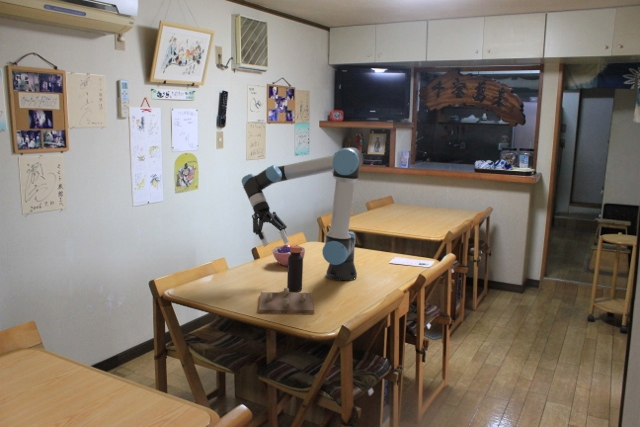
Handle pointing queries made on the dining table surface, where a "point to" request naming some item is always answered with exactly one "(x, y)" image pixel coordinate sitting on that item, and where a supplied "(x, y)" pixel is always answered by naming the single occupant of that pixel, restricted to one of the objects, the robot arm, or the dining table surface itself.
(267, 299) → the peg stand
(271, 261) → the dining table surface
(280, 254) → the cell model
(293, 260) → the vinegar
